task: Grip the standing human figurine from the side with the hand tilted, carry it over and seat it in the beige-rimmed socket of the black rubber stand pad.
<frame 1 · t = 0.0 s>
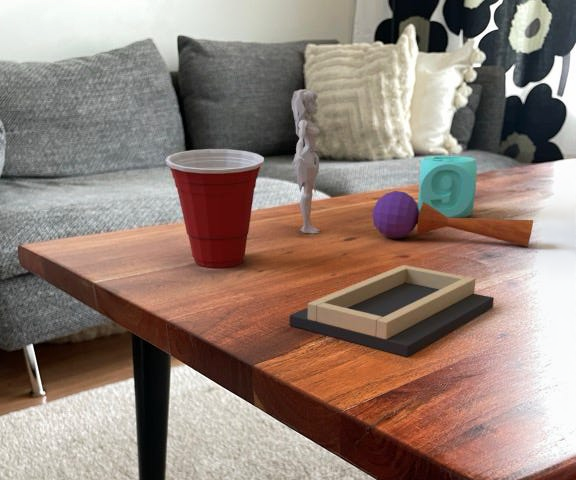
decorative dice: (443, 214, 110), on the table
plastic cup: (219, 263, 84), on the table
kendama: (448, 242, 93), on the table
stand pad: (394, 316, 66), on the table
human figurine: (305, 233, 98), on the table
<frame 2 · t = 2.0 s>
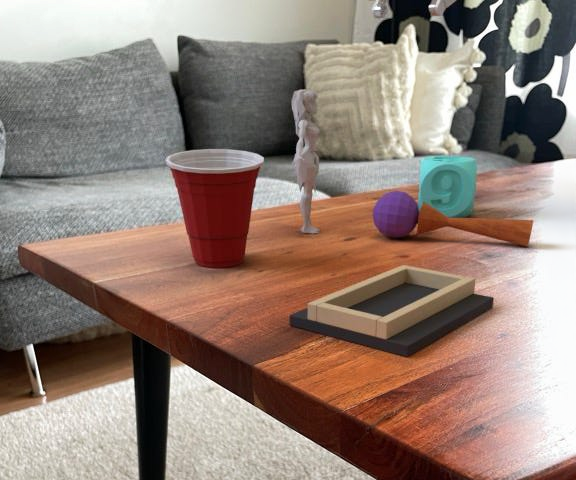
hand: (405, 13, 104), 27 cm above the table, tool tilted 45°, fingers open, 8 cm apart
nothing on the table moved.
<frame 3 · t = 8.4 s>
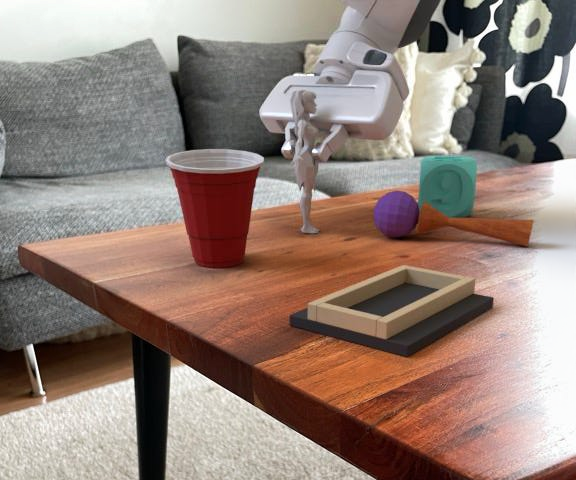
hand: (302, 156, 94), 10 cm above the table, tool tilted 45°, fingers closed on human figurine, 4 cm apart
human figurine: (305, 233, 98), on the table, touching gripper
everything else where it was.
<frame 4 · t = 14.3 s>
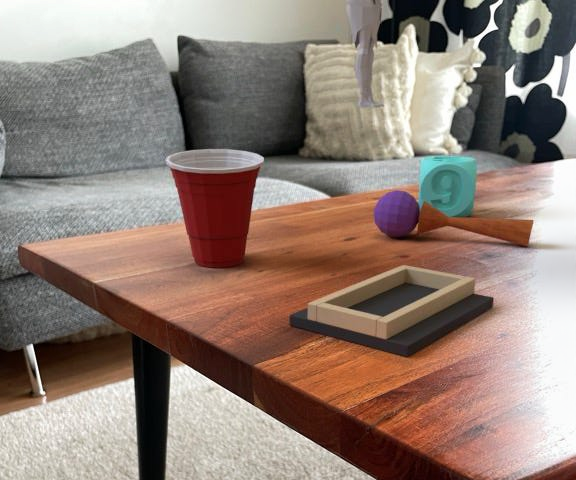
human figurine: (364, 109, 71), point 17 cm above the table, touching gripper
everything else where it was.
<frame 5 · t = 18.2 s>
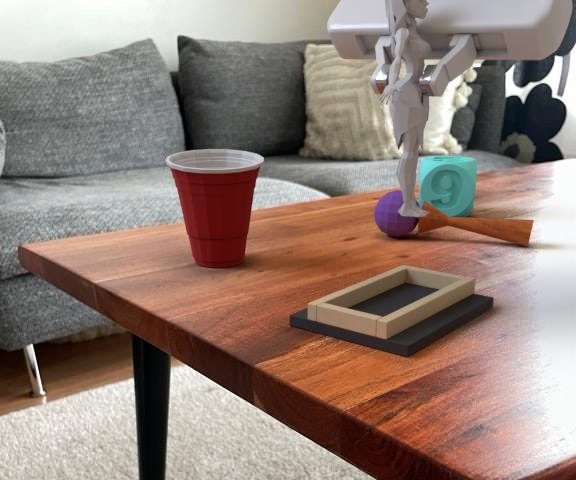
hand: (404, 90, 58), 19 cm above the table, tool tilted 45°, fingers closed on human figurine, 3 cm apart
human figurine: (406, 217, 62), point 9 cm above the table, touching gripper
everything else where it was.
when the fingers open (11 cm above the table, at t = 20.7 s): human figurine stays where it is, resting on stand pad.
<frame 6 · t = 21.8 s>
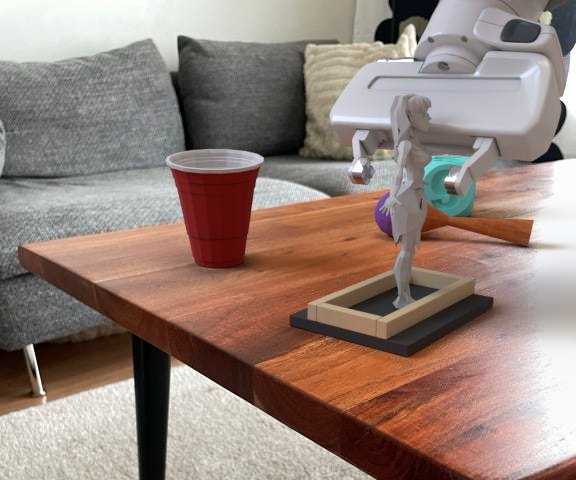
hand: (403, 185, 61), 12 cm above the table, tool tilted 45°, fingers open, 8 cm apart
human figurine: (400, 307, 66), point 1 cm above the table, touching stand pad
everything else where it was.
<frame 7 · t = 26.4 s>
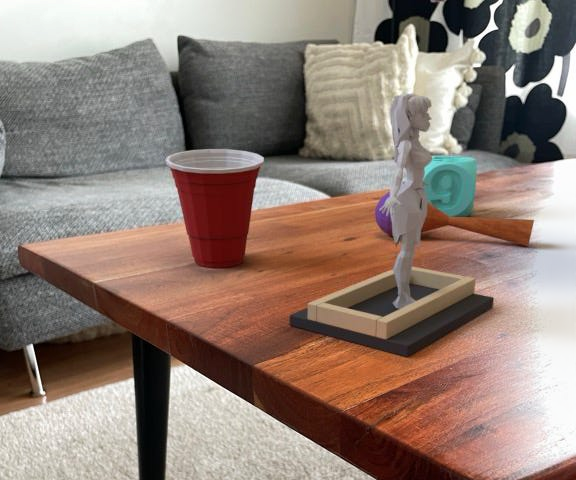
nothing on the table moved.
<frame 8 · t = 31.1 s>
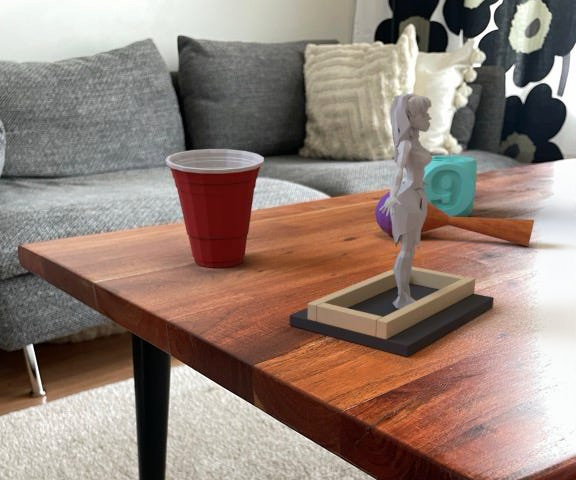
nothing on the table moved.
at the end: human figurine 0.5 cm off-centre on the stand pad, point 0.8 cm above the stand pad's base; human figurine tilted 0°; the gripper is holding nothing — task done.
